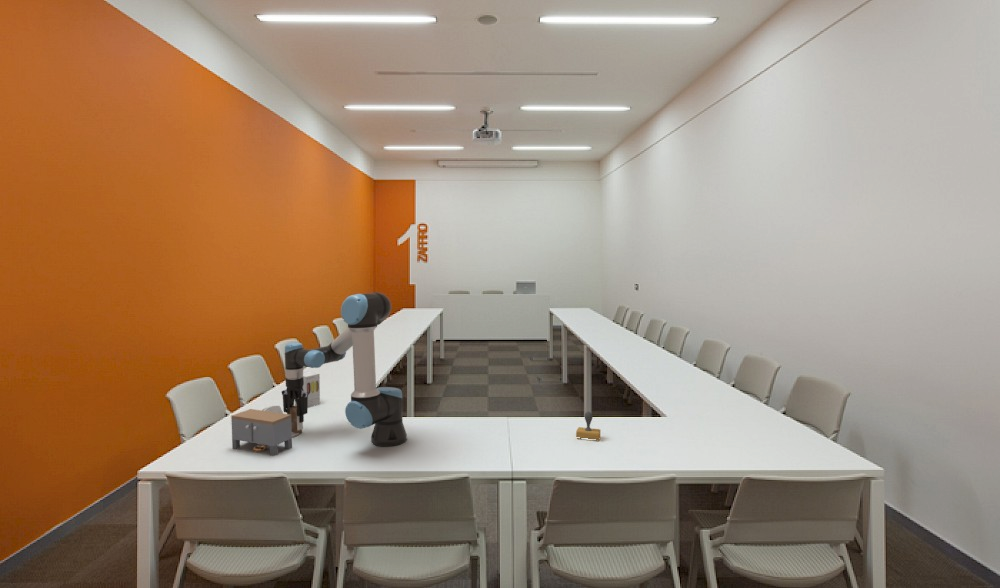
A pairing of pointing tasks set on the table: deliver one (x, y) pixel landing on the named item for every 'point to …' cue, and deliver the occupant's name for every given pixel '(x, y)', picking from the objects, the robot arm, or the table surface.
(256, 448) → the copper disc
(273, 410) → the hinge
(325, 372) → the table surface
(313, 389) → the supplement box
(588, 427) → the rubber stamp
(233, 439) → the low cabinet
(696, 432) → the table surface
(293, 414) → the wooden block bookend
